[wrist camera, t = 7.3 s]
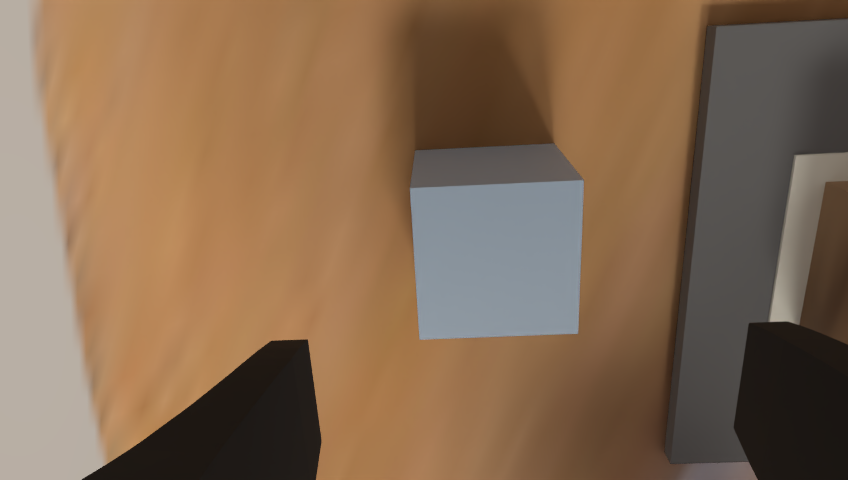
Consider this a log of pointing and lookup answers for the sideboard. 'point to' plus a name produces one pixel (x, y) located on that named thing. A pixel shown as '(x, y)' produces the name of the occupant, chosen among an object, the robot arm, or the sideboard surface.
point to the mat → (752, 210)
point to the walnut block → (829, 267)
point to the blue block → (496, 241)
